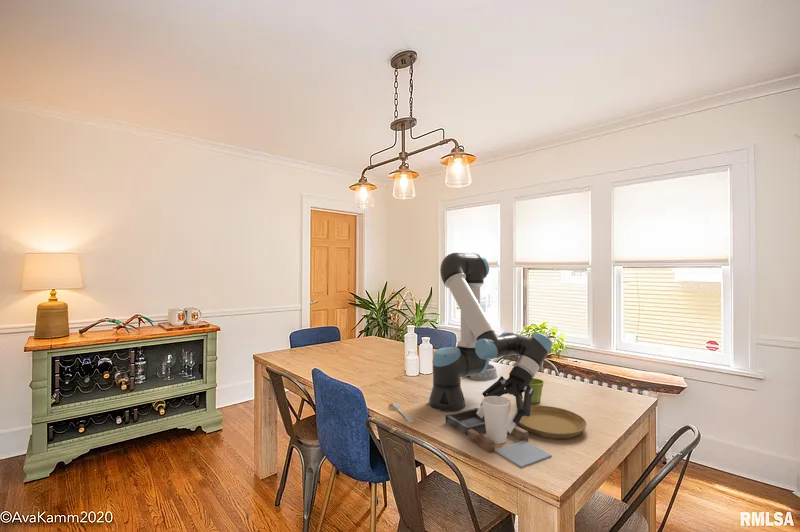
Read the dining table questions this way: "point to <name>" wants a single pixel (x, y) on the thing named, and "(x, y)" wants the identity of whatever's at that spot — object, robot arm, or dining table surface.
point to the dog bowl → (486, 374)
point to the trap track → (478, 428)
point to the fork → (402, 412)
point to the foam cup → (496, 417)
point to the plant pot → (536, 390)
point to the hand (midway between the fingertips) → (492, 423)
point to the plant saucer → (553, 422)
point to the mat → (523, 453)
